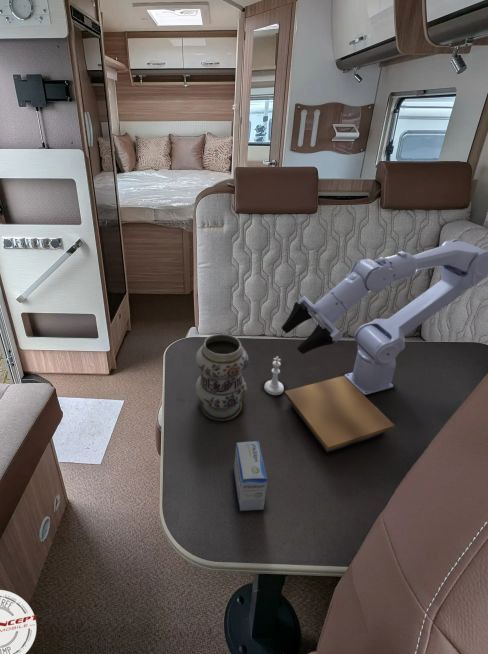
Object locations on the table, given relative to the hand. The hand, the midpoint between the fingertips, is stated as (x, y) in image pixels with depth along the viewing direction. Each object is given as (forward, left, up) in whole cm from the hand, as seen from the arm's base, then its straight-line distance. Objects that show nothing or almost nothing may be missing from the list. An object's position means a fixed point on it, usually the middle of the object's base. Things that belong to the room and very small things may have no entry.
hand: (291, 340), depth 83 cm
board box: (-7, +11, -17) cm, 21 cm away
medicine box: (+19, +20, -17) cm, 32 cm away
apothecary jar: (+16, -2, -17) cm, 23 cm away
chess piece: (+1, -3, -17) cm, 17 cm away
